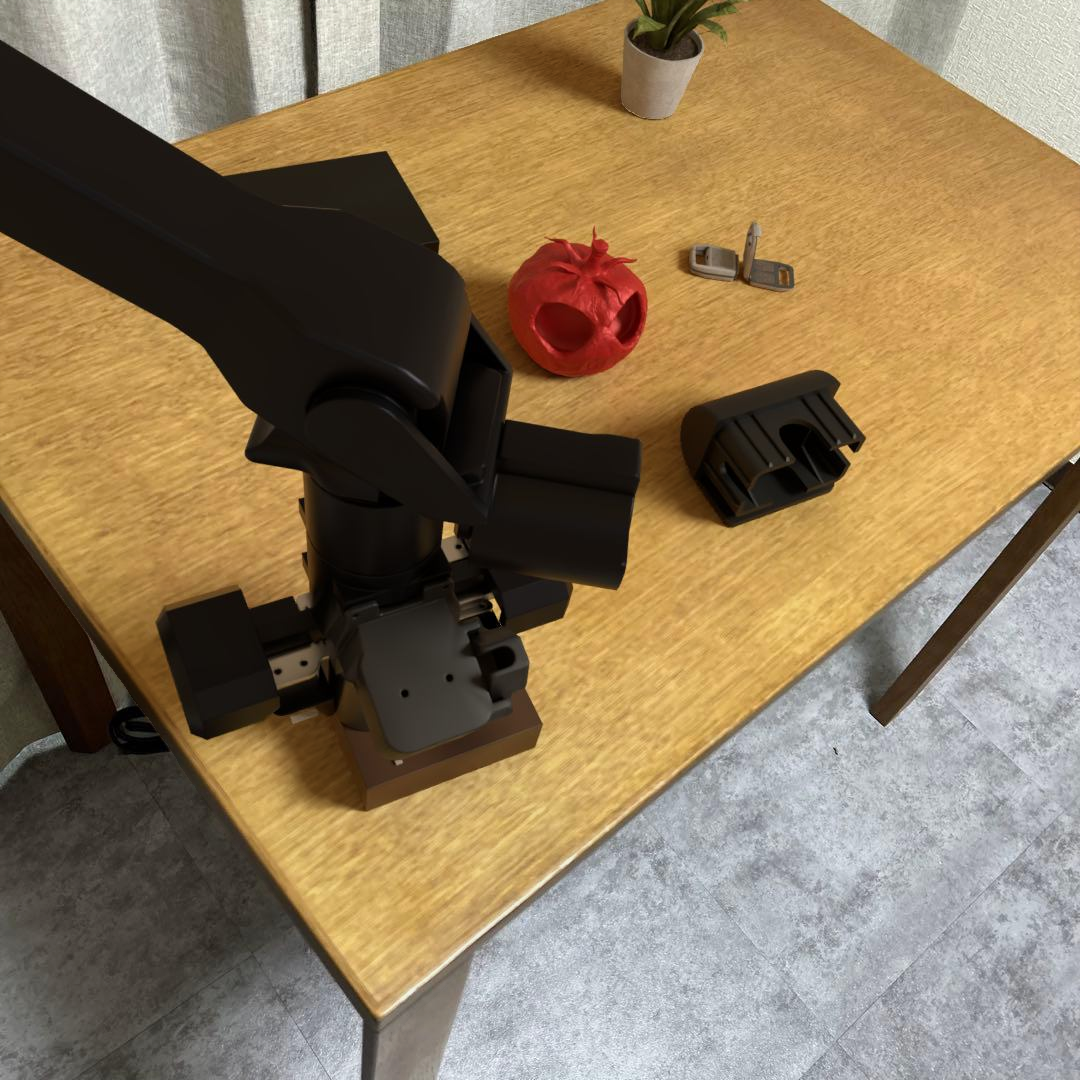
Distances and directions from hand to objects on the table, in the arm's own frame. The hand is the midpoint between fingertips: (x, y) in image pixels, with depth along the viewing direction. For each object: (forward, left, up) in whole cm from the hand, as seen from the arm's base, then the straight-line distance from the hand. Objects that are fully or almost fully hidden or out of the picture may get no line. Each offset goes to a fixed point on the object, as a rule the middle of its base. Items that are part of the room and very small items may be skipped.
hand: (370, 693), depth 59 cm
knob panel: (+2, 0, -3) cm, 4 cm away
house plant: (+44, +47, -3) cm, 65 cm away
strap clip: (+41, +26, -3) cm, 49 cm away
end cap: (+31, +8, -3) cm, 32 cm away
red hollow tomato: (+24, +23, -3) cm, 33 cm away
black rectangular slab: (+9, +39, -3) cm, 40 cm away
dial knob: (0, 0, 0) cm, 0 cm away
